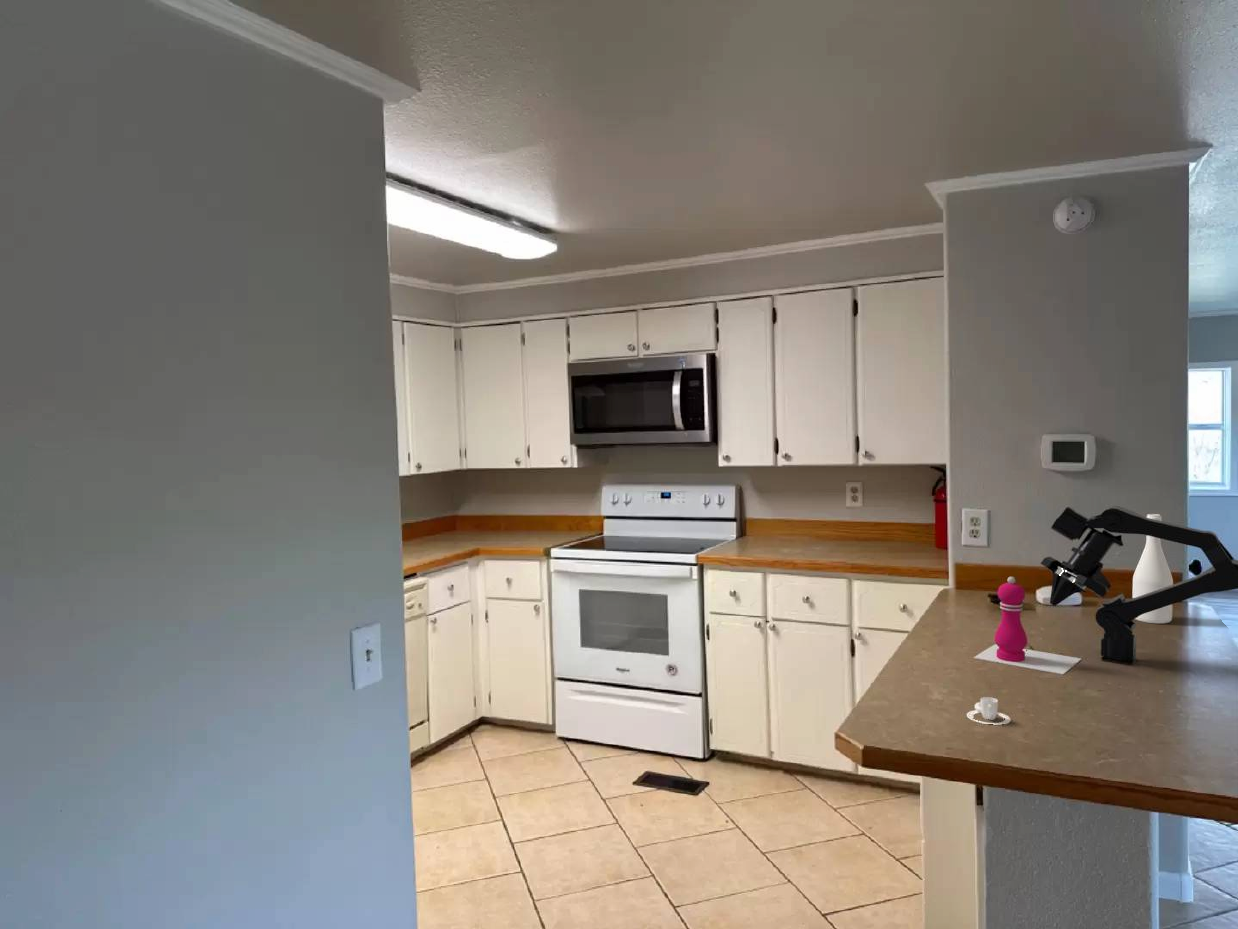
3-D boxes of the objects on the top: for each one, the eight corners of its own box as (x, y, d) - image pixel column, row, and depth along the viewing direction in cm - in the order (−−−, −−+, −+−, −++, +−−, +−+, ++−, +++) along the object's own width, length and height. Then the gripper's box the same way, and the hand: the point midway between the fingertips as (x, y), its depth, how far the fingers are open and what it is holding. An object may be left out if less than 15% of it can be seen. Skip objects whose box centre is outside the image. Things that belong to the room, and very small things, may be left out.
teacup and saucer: (974, 708, 171) (975, 689, 171) (1016, 717, 166) (1016, 697, 166) (961, 721, 165) (961, 701, 164) (1004, 730, 159) (1004, 709, 159)
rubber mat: (1081, 659, 201) (1081, 658, 201) (1063, 674, 190) (1063, 673, 190) (995, 644, 215) (995, 644, 214) (973, 658, 204) (973, 657, 204)
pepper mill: (1023, 664, 197) (1024, 581, 196) (991, 659, 202) (991, 577, 200) (1030, 656, 203) (1030, 575, 202) (998, 652, 207) (999, 572, 206)
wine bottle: (1124, 618, 238) (1126, 514, 236) (1145, 614, 242) (1147, 511, 240) (1158, 626, 229) (1160, 517, 227) (1179, 621, 233) (1182, 515, 231)
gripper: (1142, 580, 193) (1101, 635, 195) (1092, 558, 211) (1055, 609, 213) (1105, 555, 192) (1064, 611, 193) (1058, 536, 210) (1021, 586, 212)
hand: (1052, 604), depth 203 cm, fingers closed
